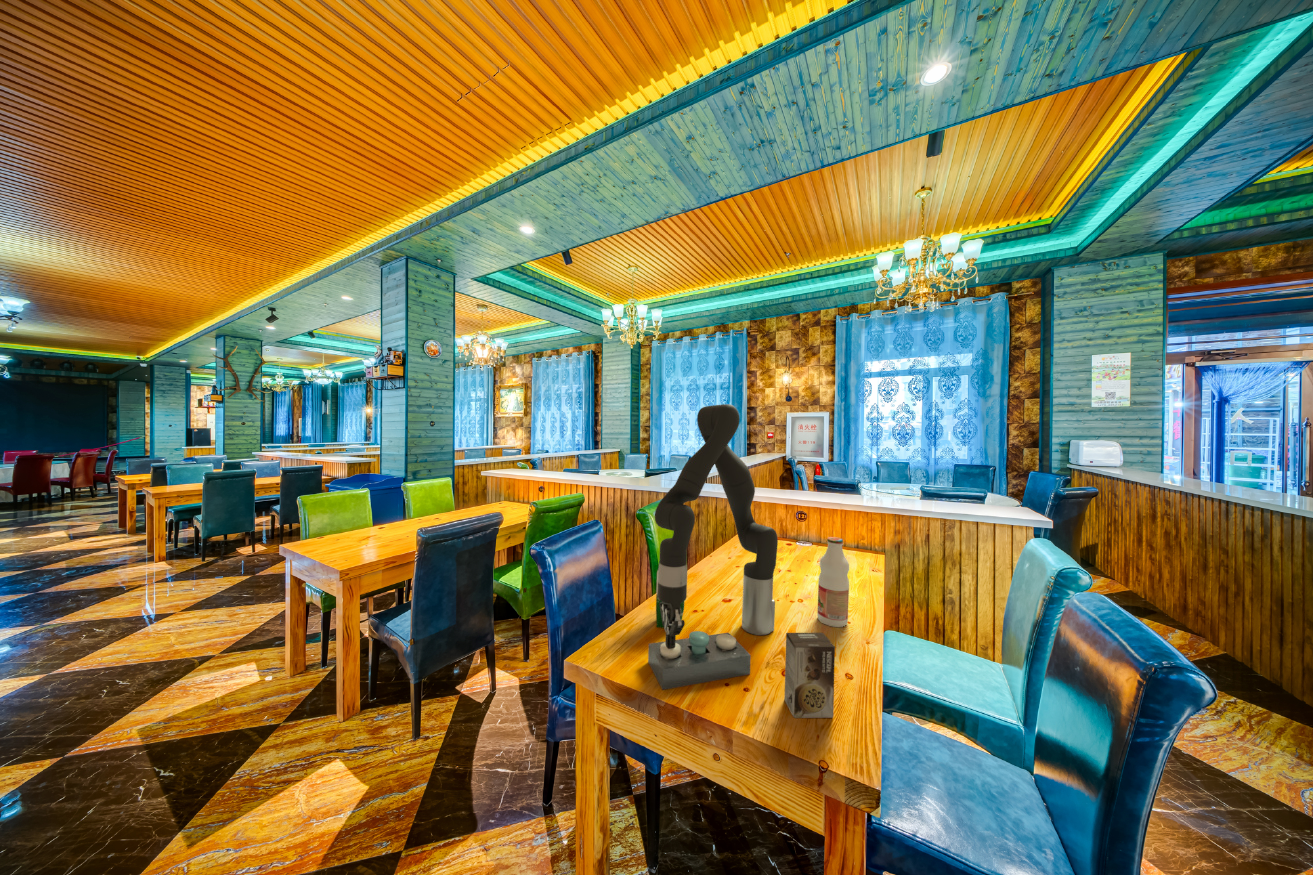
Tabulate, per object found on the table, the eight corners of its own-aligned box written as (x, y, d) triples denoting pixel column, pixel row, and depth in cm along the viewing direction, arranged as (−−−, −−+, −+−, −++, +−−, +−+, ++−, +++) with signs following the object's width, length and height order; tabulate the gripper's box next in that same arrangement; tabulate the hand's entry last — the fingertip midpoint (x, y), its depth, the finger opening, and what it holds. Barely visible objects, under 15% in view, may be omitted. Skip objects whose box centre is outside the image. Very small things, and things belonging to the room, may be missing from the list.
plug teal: (703, 651, 109) (703, 630, 109) (711, 662, 104) (712, 639, 104) (685, 654, 108) (686, 632, 108) (693, 665, 103) (693, 642, 103)
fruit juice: (839, 630, 129) (842, 544, 128) (811, 619, 136) (814, 537, 136) (852, 622, 135) (855, 539, 134) (825, 612, 142) (828, 533, 142)
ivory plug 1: (675, 662, 107) (676, 640, 107) (682, 674, 102) (683, 650, 102) (657, 665, 105) (657, 643, 105) (663, 677, 100) (664, 653, 100)
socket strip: (727, 649, 116) (728, 632, 115) (749, 674, 104) (750, 655, 104) (648, 662, 108) (648, 643, 108) (662, 689, 97) (663, 669, 97)
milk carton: (658, 615, 135) (660, 556, 135) (685, 619, 134) (687, 559, 133) (653, 628, 127) (655, 565, 127) (681, 631, 125) (683, 568, 125)
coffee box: (821, 699, 95) (823, 631, 95) (834, 718, 89) (836, 646, 88) (783, 699, 95) (785, 631, 95) (793, 718, 88) (795, 646, 88)
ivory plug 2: (729, 654, 112) (730, 632, 112) (738, 664, 107) (739, 642, 107) (712, 656, 110) (713, 635, 110) (721, 667, 105) (721, 645, 105)
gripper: (696, 588, 98) (693, 659, 98) (676, 570, 111) (674, 632, 111) (667, 591, 96) (664, 663, 96) (650, 572, 108) (648, 636, 109)
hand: (670, 646), depth 104 cm, fingers closed
